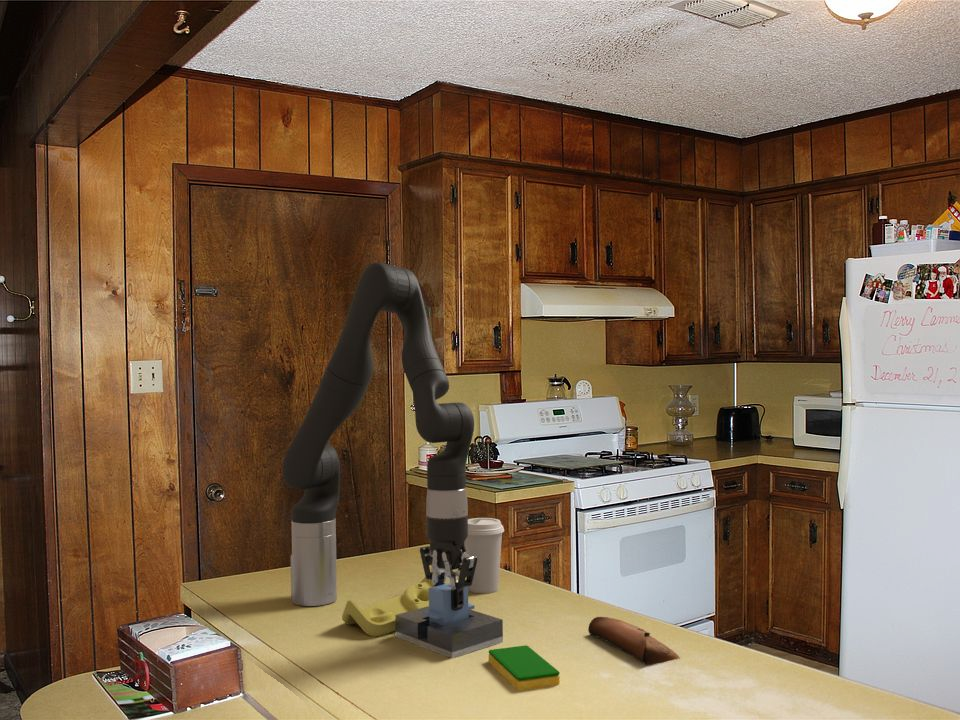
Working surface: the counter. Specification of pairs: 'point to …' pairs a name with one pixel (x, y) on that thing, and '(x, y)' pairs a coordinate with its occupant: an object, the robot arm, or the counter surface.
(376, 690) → the counter surface
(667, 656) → the sunglasses case
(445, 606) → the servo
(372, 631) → the plastic component
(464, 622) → the grey hollow block
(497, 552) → the coffee cup
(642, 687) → the counter surface
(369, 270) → the robot arm
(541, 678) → the dish sponge
